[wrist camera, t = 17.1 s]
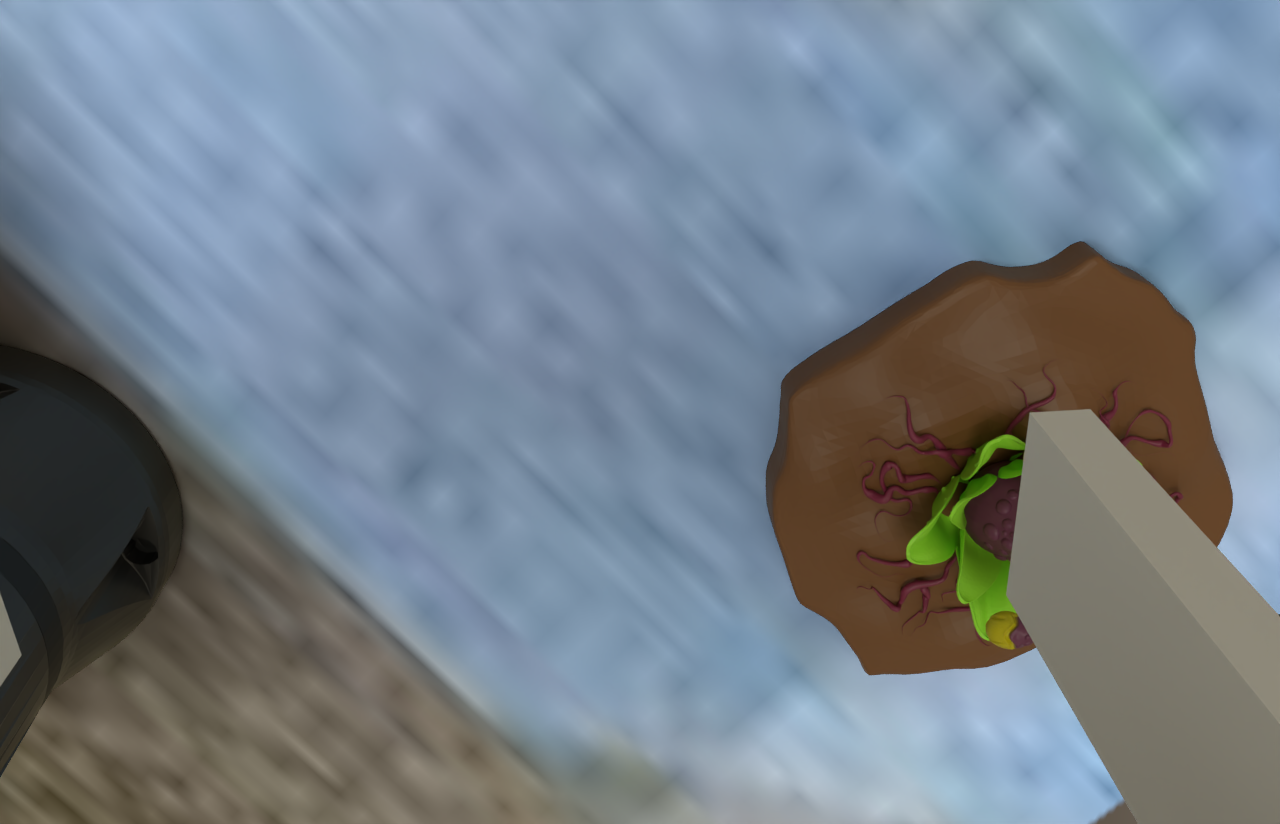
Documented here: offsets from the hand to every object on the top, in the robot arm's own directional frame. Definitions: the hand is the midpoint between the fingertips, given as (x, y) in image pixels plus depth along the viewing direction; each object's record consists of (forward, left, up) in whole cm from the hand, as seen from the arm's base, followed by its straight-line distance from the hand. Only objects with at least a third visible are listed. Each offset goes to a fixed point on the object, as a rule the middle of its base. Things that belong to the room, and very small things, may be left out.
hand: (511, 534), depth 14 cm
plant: (+5, -25, -32) cm, 41 cm away
